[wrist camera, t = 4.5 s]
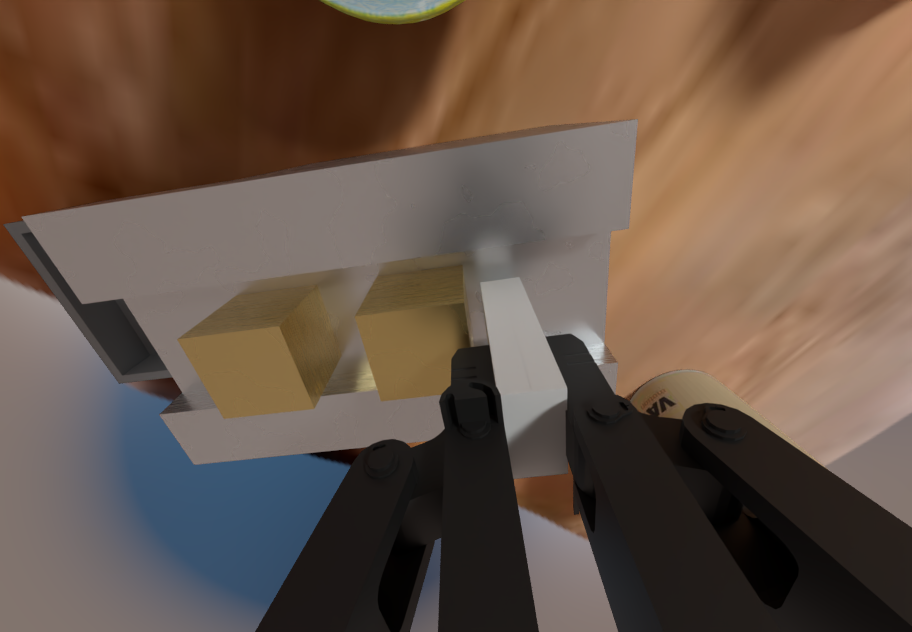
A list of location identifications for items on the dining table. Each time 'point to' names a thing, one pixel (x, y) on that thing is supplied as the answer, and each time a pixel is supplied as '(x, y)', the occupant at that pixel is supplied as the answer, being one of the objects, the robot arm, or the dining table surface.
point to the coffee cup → (693, 398)
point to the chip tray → (97, 319)
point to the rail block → (357, 262)
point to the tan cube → (414, 330)
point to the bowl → (393, 9)
